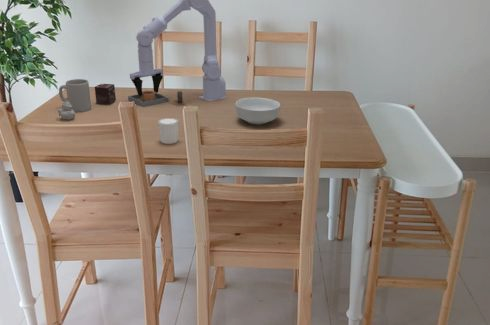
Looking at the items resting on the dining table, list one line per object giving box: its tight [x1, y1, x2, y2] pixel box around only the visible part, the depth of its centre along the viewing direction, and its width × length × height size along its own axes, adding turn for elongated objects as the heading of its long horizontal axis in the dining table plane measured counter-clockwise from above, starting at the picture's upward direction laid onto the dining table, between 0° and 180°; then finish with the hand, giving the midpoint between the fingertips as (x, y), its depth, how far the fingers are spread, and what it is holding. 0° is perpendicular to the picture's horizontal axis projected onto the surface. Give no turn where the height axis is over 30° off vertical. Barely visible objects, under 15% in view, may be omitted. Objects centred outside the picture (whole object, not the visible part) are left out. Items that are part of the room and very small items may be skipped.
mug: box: [58, 78, 92, 113], centre depth 187 cm, size 12×8×11 cm
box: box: [94, 83, 117, 106], centre depth 196 cm, size 6×6×7 cm
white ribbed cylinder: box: [157, 117, 180, 145], centre depth 158 cm, size 7×7×7 cm
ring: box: [140, 90, 155, 102], centre depth 199 cm, size 8×5×4 cm
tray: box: [127, 92, 170, 108], centre depth 199 cm, size 12×12×2 cm
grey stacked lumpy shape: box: [57, 99, 76, 121], centre depth 176 cm, size 5×7×8 cm
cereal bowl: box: [234, 96, 281, 125], centre depth 179 cm, size 17×17×7 cm
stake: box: [167, 91, 194, 107], centre depth 197 cm, size 8×8×5 cm
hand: (148, 93), depth 198 cm, fingers open, 7 cm apart
